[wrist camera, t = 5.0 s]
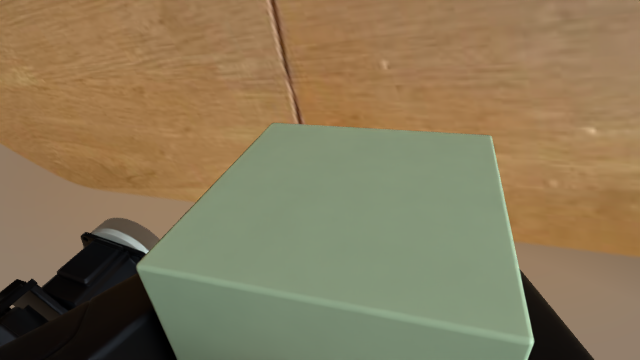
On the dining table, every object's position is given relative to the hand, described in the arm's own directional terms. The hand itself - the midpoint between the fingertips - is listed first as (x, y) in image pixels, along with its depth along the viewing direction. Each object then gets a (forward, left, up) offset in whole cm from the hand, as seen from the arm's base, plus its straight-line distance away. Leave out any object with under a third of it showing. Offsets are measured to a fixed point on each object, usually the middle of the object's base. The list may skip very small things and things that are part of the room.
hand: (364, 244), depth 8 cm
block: (0, 0, -1) cm, 1 cm away
